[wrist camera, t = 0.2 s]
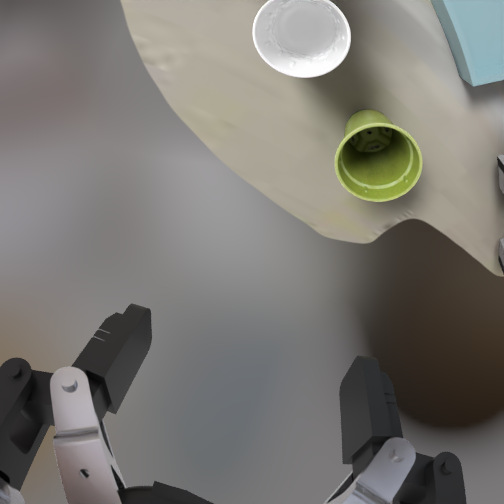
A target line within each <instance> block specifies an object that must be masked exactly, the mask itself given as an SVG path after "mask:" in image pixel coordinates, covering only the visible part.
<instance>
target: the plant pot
mask: <svg viewBox="0 0 504 504" xmlns="http://www.w3.org/2000/svg"><path fill="white" fill-rule="evenodd" d="M385 127H388V132H386V129H385ZM368 131H371V134H367V132H368ZM352 136H353V138H354V141H353V140H352V139H351V138H350V137H352ZM377 145H379V147H377V148H375V149H370V148H369V147H373V146H377ZM422 165H423V161H422V154H421V151H420V148H419V146H418V144H417V143H416V141H415V140H414V138H413V137H412V136H411V135H410V134H409V133H408V132H406V131H405V130H403V129H402V128H400V127H398V126H396V125H394V124H393V123H392V122H391V121H390V120H389V119H388V118H387V117H386V116H385V115H384V114H382V113H380V112H378V111H375V110H370V109H367V110H361V111H359V112H356V113H355V114H353V115H352V116H351V117H350V119H349V120H348V122H347V124H346V127H345V134H344V139H343V140H342V141H341V143H340V145H339V146H338V148H337V151H336V155H335V171H336V175H337V177H338V179H339V181H340V183H341V184H342V186H343V187H344V188H345V189H346V190H347V191H348V192H350V193H351V194H352V195H354V196H356V197H358V198H360V199H363V200H367V201H373V202H384V201H389V200H393V199H396V198H398V197H400V196H402V195H404V194H406V193H407V192H408V191H409V190H410V189H411V188H412V187H413V186H414V185H415V184H416V183H417V181H418V179H419V177H420V175H421V171H422Z"/></svg>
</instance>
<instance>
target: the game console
mask: <svg viewBox="0 0 504 504" xmlns="http://www.w3.org/2000/svg"><path fill="white" fill-rule="evenodd" d="M497 160H498V171H499V186H500V189H501V191H502V192H503V194H504V154H502V155H499V156H497ZM499 263H500V265H501V268H502V271H503V274H504V238H503V239H500V245H499Z"/></svg>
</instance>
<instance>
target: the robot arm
mask: <svg viewBox="0 0 504 504" xmlns="http://www.w3.org/2000/svg"><path fill="white" fill-rule="evenodd" d="M151 340H152V329H151V311H150V309H148V308H145V307H142V306H138V305H135V304H130V305H129V306H128V308H127V309H126V311H125V312H124V313H123V314H119V313H115V314H113V315H112V316H110V317H108V318H107V319H105V321H104V322H103V323H102V325H101V326H100V327H99V330H97V331H96V333H95V334H94V336H93V338H91V340H90V341H89V342H88V344H87V345H86V347H85V348H84V349H83V351H82V352H81V354H80V355H79V357H78V358H77V359H76V361H75V362H74V364H73V365H72V366H71V367H63V368H61V369H59V370H57V371H56V372H55V373H48V372H42V371H36V370H32V369H31V367H30V365H29V363H28V362H27V361H26V360H24V359H22V358H12V359H9V360H7V361H6V362H5V363H3V365H2V366H1V367H0V504H25V502H24V499H23V497H22V495H21V493H20V489H21V486H22V485H23V482H24V480H25V477H26V475H27V473H28V471H29V468H30V466H31V464H32V462H33V459H34V457H35V455H36V453H37V451H38V449H39V447H40V445H41V443H42V440H43V439H44V436H45V435H46V432H47V430H48V428H49V426H50V425H53V426H55V428H56V436H54V438H53V443H54V450H55V455H56V459H57V464H58V469H59V473H60V477H61V481H62V485H63V489H64V492H65V496H66V499H67V502H68V504H213V503H211V502H209V501H207V500H205V499H202V498H201V497H198V496H196V495H194V494H192V493H190V492H188V491H187V490H183V489H179V488H176V487H172V486H169V485H166V484H163V483H159V482H156V481H155V482H154V484H153V486H134V487H128V488H126V485H125V483H124V480H123V477H122V475H121V472H120V471H119V468H118V465H117V463H116V460H115V458H114V455H113V451H112V449H111V445H110V442H109V439H108V435H107V432H106V428H105V424H104V421H103V418H104V416H105V414H106V412H107V411H109V412H111V413H114V414H116V413H117V411H118V409H119V407H120V405H121V403H122V401H123V399H124V397H125V395H126V393H127V391H128V389H129V387H130V385H131V383H132V381H133V379H134V378H135V375H136V374H137V372H138V370H139V368H140V366H141V364H142V362H143V360H144V359H145V357H146V355H147V353H148V351H149V348H150V345H151ZM340 410H341V428H342V453H343V464H353V471H352V472H350V474H349V475H348V476H347V477H346V479H345V480H344V481H343V482H342V483H341V484H340V485H339V487H338V488H337V489H336V490H335V491H334V492H333V494H332V495H331V496H330V497H329V498H328V499H327V500H326V502H324V503H323V504H390V502H391V501H392V499H393V504H466V495H465V487H464V480H463V473H462V467H461V463H460V461H459V459H458V458H457V456H455V455H454V454H452V453H450V452H442V453H440V454H438V455H437V456H436V457H435V458H433V457H430V456H426V455H422V454H419V453H416V452H415V450H414V448H413V446H412V445H411V443H409V442H408V441H407V440H405V439H403V435H402V430H401V424H400V418H399V413H398V408H397V405H396V399H395V396H394V389H393V385H392V382H391V380H390V379H389V377H388V376H387V374H386V373H385V372H380V369H379V364H378V360H377V359H376V358H371V357H364V356H357V357H356V358H355V360H354V362H353V363H352V365H351V367H350V368H349V370H348V372H347V373H346V375H345V377H344V378H343V380H342V382H341V386H340Z"/></svg>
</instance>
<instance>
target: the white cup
mask: <svg viewBox="0 0 504 504" xmlns="http://www.w3.org/2000/svg"><path fill="white" fill-rule="evenodd" d="M253 40H254V44H255V46H256V49H257V51H258V53H259V54H260V56H261V57H262V58H263V59H264V61H265V62H266V63H267V64H269V65H270V66H271V67H272V68H274V69H276V70H277V71H279V72H281V73H283V74H286V75H289V76H293V77H299V78H311V77H317V76H321V75H324V74H326V73H328V72H330V71H332V70H333V69H335V68H336V67H337V66H339V65H340V64H341V62H342V61H343V60H344V59H345V57H346V55H347V53H348V51H349V48H350V43H351V32H350V27H349V24H348V22H347V19H346V18H345V16H344V14H343V13H342V12H341V10H340V9H339V8H338V7H337V6H336V5H335V4H333V3H332V2H331V1H329V0H269V1H268V2H267V3H266V4H264V5H263V7H262V8H261V9H260V10H259V12H258V13H257V15H256V18H255V20H254V24H253Z"/></svg>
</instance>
